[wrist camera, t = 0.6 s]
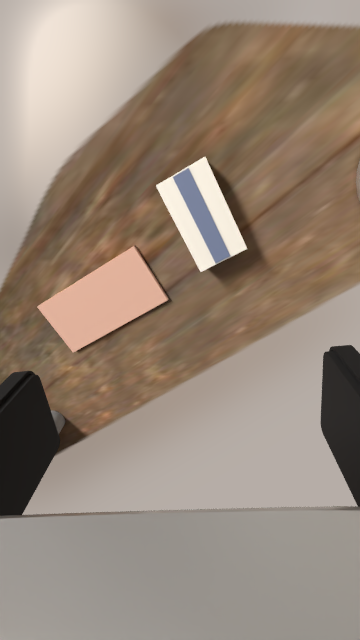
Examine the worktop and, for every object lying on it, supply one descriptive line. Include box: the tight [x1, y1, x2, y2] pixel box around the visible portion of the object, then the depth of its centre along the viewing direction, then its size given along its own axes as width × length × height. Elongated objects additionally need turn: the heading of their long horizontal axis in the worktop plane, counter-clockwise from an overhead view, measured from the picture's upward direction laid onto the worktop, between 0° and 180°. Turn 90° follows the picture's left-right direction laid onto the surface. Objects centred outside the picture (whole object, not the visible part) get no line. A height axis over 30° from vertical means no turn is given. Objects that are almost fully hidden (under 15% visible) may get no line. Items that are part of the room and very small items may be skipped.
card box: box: [156, 157, 247, 272], centre depth 32 cm, size 5×9×4 cm, turn 28°
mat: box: [37, 246, 168, 352], centre depth 38 cm, size 14×7×1 cm, turn 121°
